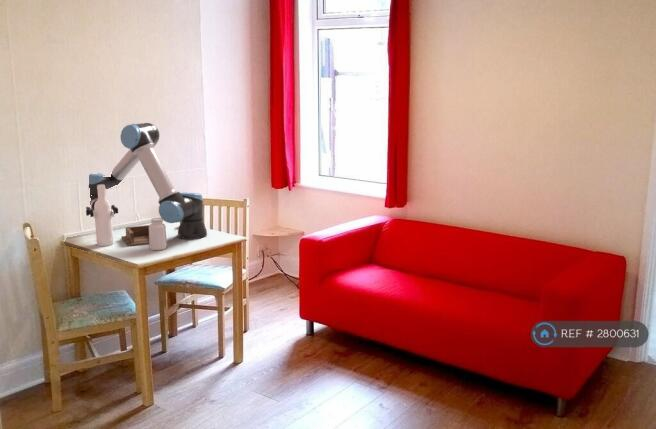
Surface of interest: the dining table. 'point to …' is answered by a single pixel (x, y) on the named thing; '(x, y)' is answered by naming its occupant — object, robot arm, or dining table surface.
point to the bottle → (103, 219)
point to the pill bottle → (157, 234)
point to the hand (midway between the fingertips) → (104, 214)
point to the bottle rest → (136, 235)
